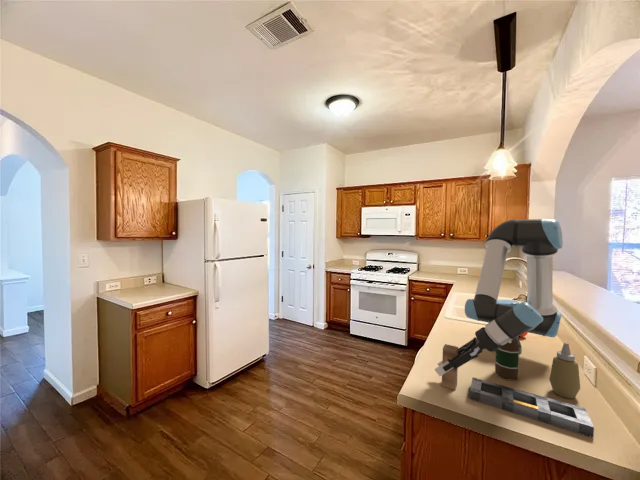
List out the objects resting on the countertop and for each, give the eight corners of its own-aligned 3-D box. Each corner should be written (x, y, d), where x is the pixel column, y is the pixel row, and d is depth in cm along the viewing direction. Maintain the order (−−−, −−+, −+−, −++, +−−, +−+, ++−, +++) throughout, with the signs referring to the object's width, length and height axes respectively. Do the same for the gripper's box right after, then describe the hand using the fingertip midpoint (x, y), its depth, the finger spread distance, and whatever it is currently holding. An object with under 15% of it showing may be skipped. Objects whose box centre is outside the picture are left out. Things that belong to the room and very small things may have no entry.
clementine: (532, 338, 146) (533, 325, 145) (523, 340, 144) (523, 326, 143) (518, 333, 153) (518, 321, 153) (508, 334, 151) (509, 322, 151)
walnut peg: (443, 380, 103) (445, 343, 102) (457, 384, 100) (458, 346, 100) (441, 386, 99) (442, 348, 99) (455, 390, 97) (456, 351, 96)
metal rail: (469, 398, 92) (469, 389, 91) (472, 385, 100) (472, 376, 100) (593, 437, 75) (594, 426, 75) (584, 417, 83) (584, 407, 83)
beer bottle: (511, 382, 102) (513, 319, 101) (490, 372, 109) (492, 313, 108) (522, 377, 106) (525, 316, 105) (501, 368, 113) (503, 311, 112)
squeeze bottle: (542, 387, 99) (545, 338, 99) (563, 387, 100) (565, 338, 99) (564, 401, 91) (567, 348, 91) (586, 400, 92) (589, 348, 91)
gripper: (501, 355, 83) (441, 390, 93) (501, 337, 98) (450, 369, 108) (482, 334, 86) (425, 370, 96) (485, 320, 101) (436, 352, 110)
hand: (438, 369), depth 102 cm, fingers closed on walnut peg, 4 cm apart
